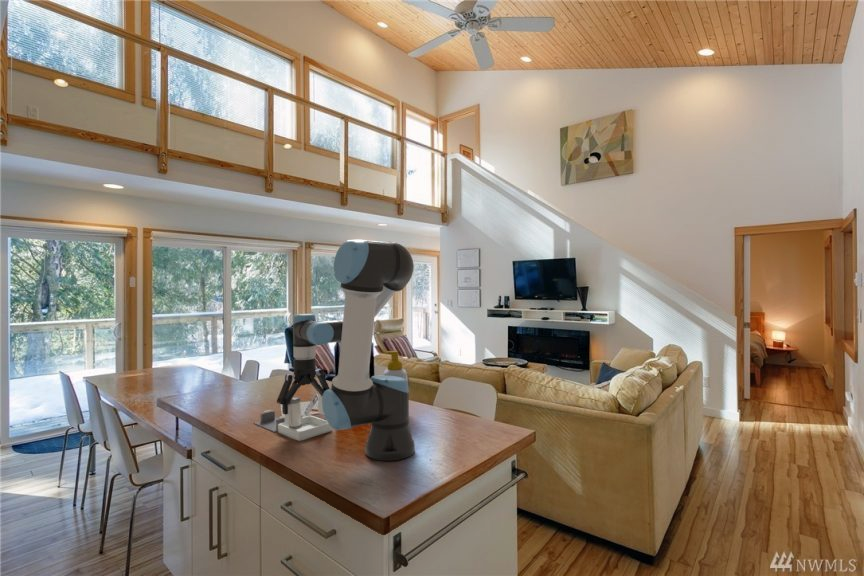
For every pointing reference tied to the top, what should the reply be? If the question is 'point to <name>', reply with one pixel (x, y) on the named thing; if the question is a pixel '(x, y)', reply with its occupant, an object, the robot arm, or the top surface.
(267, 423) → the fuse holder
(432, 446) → the top surface
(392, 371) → the soap bottle
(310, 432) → the parts tray
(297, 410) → the cylinder
